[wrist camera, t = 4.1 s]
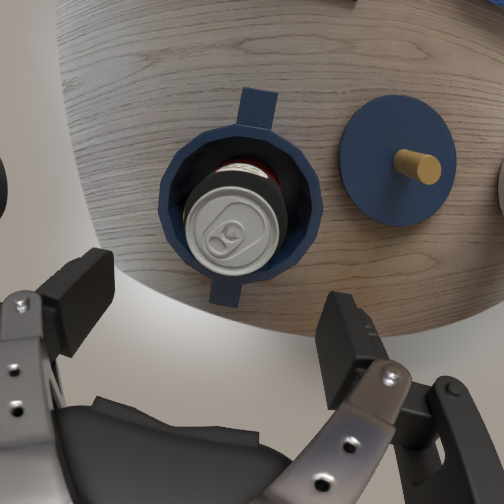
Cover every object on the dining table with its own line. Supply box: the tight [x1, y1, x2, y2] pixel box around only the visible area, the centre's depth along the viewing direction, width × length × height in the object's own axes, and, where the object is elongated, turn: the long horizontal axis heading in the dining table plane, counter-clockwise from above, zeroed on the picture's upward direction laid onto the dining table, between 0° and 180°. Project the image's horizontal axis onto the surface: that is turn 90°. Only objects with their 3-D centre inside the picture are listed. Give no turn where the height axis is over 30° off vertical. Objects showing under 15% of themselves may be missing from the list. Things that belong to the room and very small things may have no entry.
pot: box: [158, 87, 323, 308], centre depth 25 cm, size 12×17×7 cm
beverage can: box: [183, 156, 288, 276], centre depth 22 cm, size 6×6×12 cm
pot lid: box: [339, 95, 456, 226], centre depth 23 cm, size 13×13×6 cm
